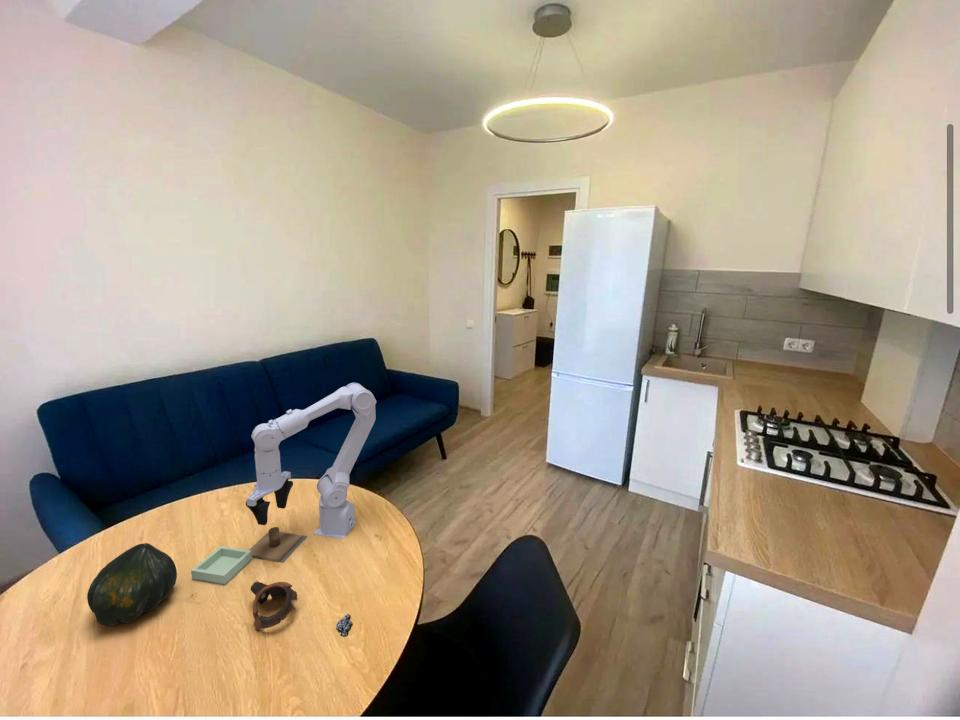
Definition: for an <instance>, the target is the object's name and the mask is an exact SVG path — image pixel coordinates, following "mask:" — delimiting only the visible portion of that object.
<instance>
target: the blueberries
mask: <svg viewBox="0 0 960 720" xmlns="http://www.w3.org/2000/svg"><path fill="white" fill-rule="evenodd" d="M351 619H352V617H351V615H350V614H348V613H347V614H346V615H344V617H342V618H341V619H340V620H338V621H337V623H336V627H335V630H336V631H337V633H338V634H340V637H342V638H346V637H348V636H349V632H350V631H351V629H352V627H353V625H354V624H353V622H352V620H351Z"/></svg>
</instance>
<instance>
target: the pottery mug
mask: <svg viewBox="0 0 960 720" xmlns="http://www.w3.org/2000/svg"><path fill="white" fill-rule="evenodd" d="M250 591H251V593H253V594H254V596H255V597H254V600H253V603H252V616H253V619H254V621H253V626H254V627H255V628H256V629H257V630H258V631H261V630H264V629H269V628H272V627H274V626H276V625H279V624H280V623H281V622H282V621H283V620H285V619H286V618H287V617H288V615H289V614H290V613H291V612H292V611H294V610H296V608H295V605H294V604H293V602H292V601H294V600H295V599H297V598H298V593H297V591H296V590H294V589H293V584H291V583H289V582H286V581H276V582H273V583H270V584H266V583H264V582H260V581H254V582H253V583H252V584H251V587H250ZM269 596H270V597H271V600H274V599H277V598H280V597H283V596H286V600H285V603H284V605H283V606H282V608H281V609H280V610H278V611H277V612H276V613H274V614H272V615H269V616H268V615H267V616H266V615H262V614H260V615H259V610H258V605H259V606H263V604H264V603H266V602H267V601H268V598H269Z"/></svg>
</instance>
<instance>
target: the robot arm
mask: <svg viewBox="0 0 960 720" xmlns="http://www.w3.org/2000/svg"><path fill="white" fill-rule="evenodd" d="M376 404H377V400H376V398H375V396H374V394H373V393H372V392H371V390H369V389H367V388H365V387H364V386H363V385H361V383H358V382H351V383H348V384H347V385H344V386H342V387H339V388H338V389H337V390H335V391H334V392H333V393H331V394H329V395H327V396H325V397H324V398H322V399H320V400H319V401H317V402H315V403H314V404H312V405H310V406H308V407H306V408H304V409H298V408H295V409H291V408H290V409H288V410H286V413H285V414H283V415H281V416H280V417H277V418H274V419H270V420H268V422H266V423H265V422H264V423H260V424H258V425H256V426H255V427H254V429H253V430H252V433H251V439H252V441H253V443H254V462H255V475H256V482H255V483H254V490H253V491H252V492H251V494H250V495H249V496H248V497H246V501H245V506H246V507H247V508H248V509H249V510H250V512H251V513H252V514H253V516H254V518H255V520H256V522H257V525H259V526H266V525H267V524H268V517H269V516H268V513H269V507H270V504H271V501H269V500H267V501H266V500H265V499H264V498H265V497H266V496H268V495H270V494H272V493H273V494H274V497H275V502H276V507H277V508H278V509H286V508H287V504H288V499H289V495H290V492H291V489H292V488H293V486H294V482H293V480H291V479H292V475H291V473H292V472H291V471H286V470H285V471H282V467H281V452H280V449H279V446H280V443H281V442H282V441H284V440H286V439H287V438H289V437H292V436H293V435H295V434H297V433H298V432H299V433H300V432H301V431H302V430H304V429H307V428H308V425H309V423H310V422H311V421H312V420H314V419H317V418H319V417H322V416H324V415H325V414H328V413H329V412H332V411H334V410H336V409H343V410H350V411H351V410H352V412H353V414H354V416H355V419H354V421H353V424H352V425H351V427H350V430H349V431H348V434H347V436H346V438H345V440H344V442H343V444H342V446H341V447H340V450H339V452H338V454H337V455H336V459H335V460H334V462H333V464H332V466H330V467H329V468H327V469H326V471H325V473H324V474H323V476H321V477H320V478H319V479H318V480H317V483H316V490H317V492H318V493H319V494H320V497H319V501H318V509H319V510H318V511H319V527H318V528H317V529H316V530H315V531H314V533H313V535H315V536H322V537H327V538H328V537H330V538H335V539H342V540H344V539H346V537H347V536H348V535H349V533H350V532H351V531H352V530H353V528H354V527H355V525H356V524H357V521H356V507H355V504H354V503H353V502H351V501H349V500H347V497H348V489H349V487H350V474H351V471H352V470H353V468H354V465H355V463H356V462H357V459H358V457H359V455H360V453H361V450H362V449H363V447H364V444H365V443H366V440H367V439H368V436H369V434H370V432H371V430H372V428H373V426H374V425H375V422H376V420H377V419H376V417H377V416H376V414H377V413H376Z"/></svg>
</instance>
